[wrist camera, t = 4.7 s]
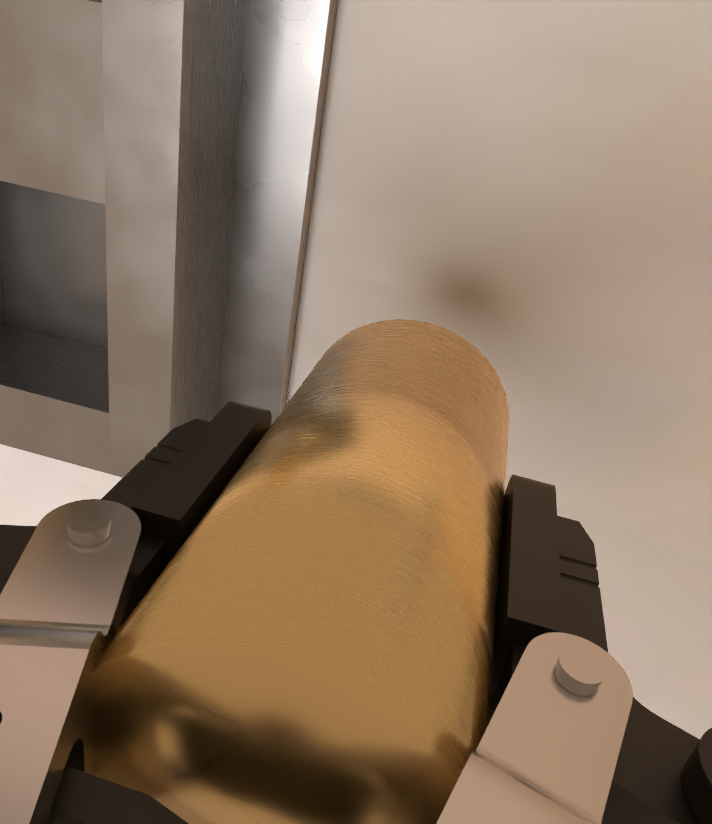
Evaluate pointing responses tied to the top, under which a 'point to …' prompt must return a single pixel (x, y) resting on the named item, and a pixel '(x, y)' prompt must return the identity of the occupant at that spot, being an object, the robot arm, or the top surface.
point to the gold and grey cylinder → (327, 603)
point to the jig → (151, 214)
